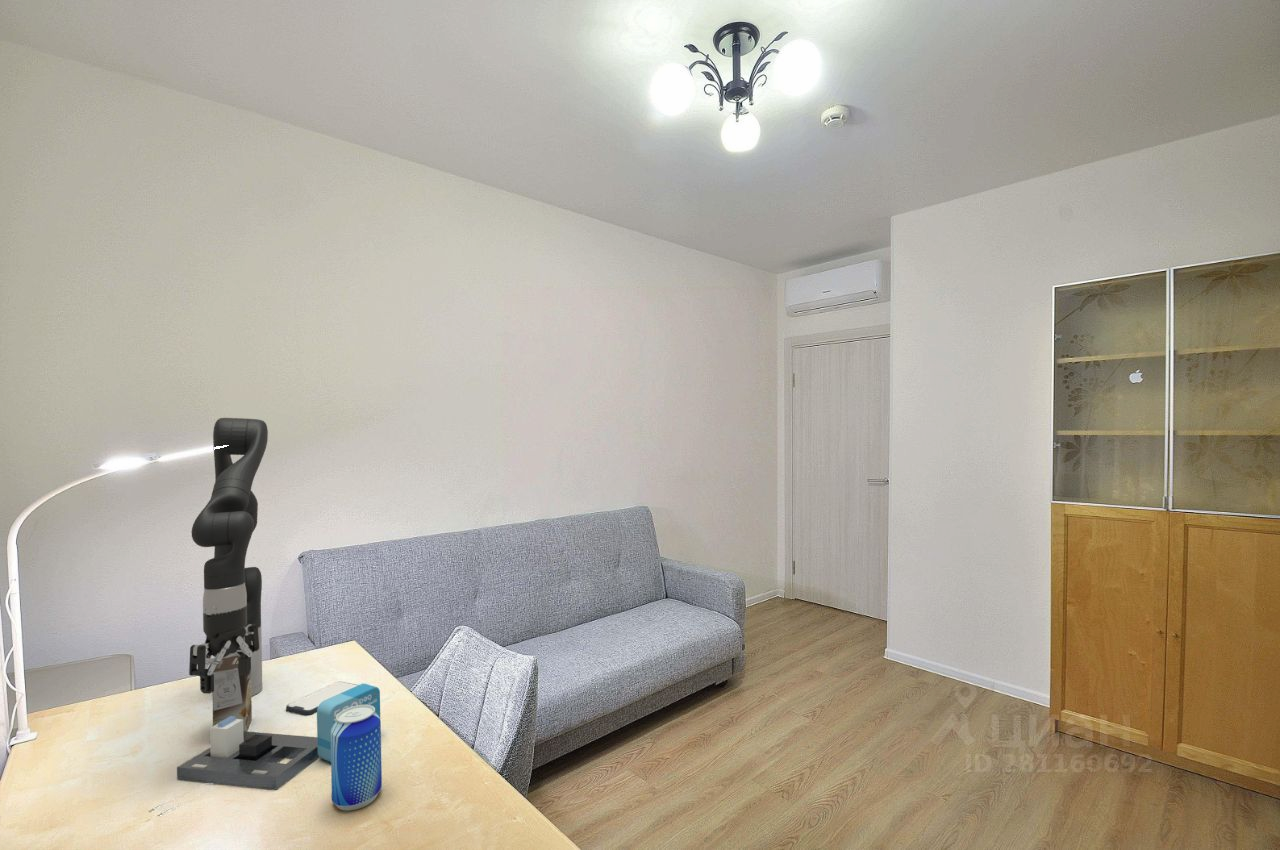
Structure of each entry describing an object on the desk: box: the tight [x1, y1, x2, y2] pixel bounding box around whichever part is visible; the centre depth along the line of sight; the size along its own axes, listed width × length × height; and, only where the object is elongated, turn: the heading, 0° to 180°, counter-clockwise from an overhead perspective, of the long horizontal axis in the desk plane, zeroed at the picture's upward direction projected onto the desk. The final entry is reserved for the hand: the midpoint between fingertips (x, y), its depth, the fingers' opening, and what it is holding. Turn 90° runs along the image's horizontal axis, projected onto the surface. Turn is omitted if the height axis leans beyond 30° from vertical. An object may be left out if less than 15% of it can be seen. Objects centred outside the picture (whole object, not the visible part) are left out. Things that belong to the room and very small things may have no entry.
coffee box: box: [211, 655, 253, 731], centre depth 133 cm, size 9×6×16 cm
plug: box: [209, 716, 244, 758], centre depth 120 cm, size 4×4×9 cm
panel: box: [176, 730, 320, 791], centre depth 119 cm, size 23×14×5 cm, turn 80°
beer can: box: [330, 705, 383, 812], centre depth 107 cm, size 8×8×16 cm
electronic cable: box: [148, 783, 215, 817], centre depth 108 cm, size 4×10×1 cm, turn 154°
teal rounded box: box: [316, 683, 381, 763], centre depth 124 cm, size 12×4×12 cm, turn 152°
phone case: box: [285, 681, 359, 717], centre depth 148 cm, size 9×2×16 cm
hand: (226, 683), depth 120 cm, fingers open, 8 cm apart
